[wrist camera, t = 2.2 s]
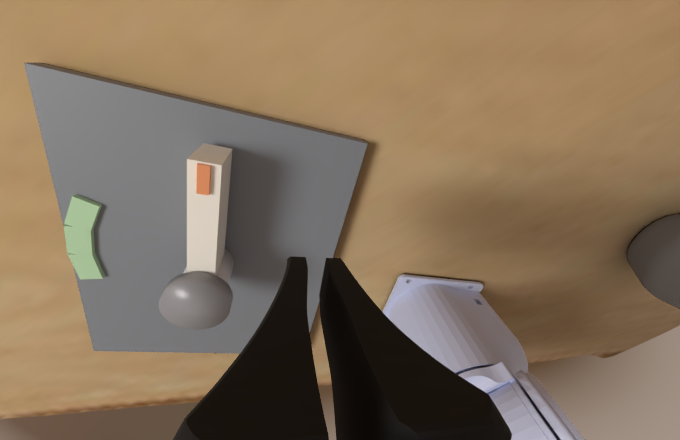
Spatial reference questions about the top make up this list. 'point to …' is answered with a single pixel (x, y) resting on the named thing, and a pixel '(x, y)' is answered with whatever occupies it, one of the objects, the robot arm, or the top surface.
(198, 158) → the peg key
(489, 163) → the top surface
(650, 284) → the cup
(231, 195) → the dial board
